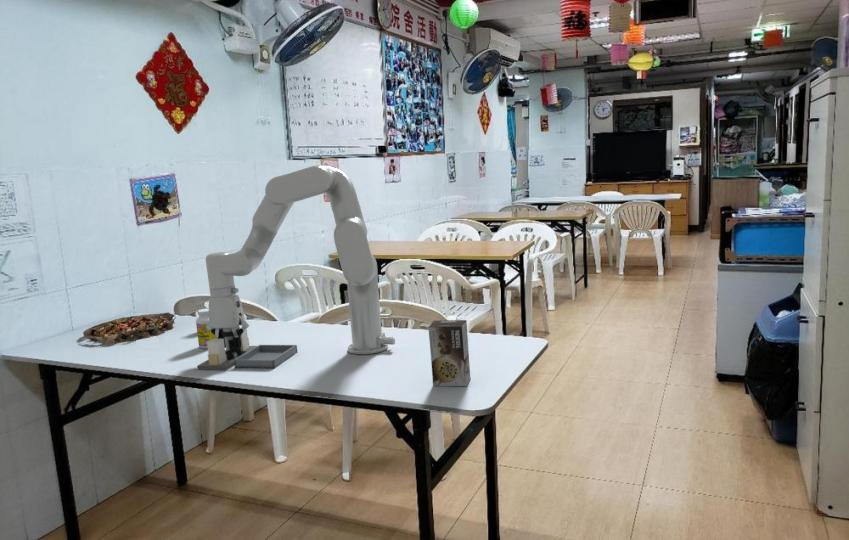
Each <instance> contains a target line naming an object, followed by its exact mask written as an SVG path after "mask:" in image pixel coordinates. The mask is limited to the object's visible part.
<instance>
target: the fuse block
mask: <svg viewBox="0 0 849 540" xmlns="http://www.w3.org/2000/svg"><path fill="white" fill-rule="evenodd" d="M239 327H240V328H241V327H242V326H239ZM248 336H249V335H248V328H247V329H246V330H245V331H244V332H243V333H242V335H241V343H242V345H241V348H240V349H241V355H240V356H242V355H243V354H245V353H247V352H248V351H250V350H252V349H253V348H255V347H257V346H258V345H250V341H249V337H248ZM207 346H208V349H207V352H208V354H207V360H205V361H203V362H202V363H200V364H198V365H196V367H197V371H203V370H204V371H228V370H230V369H232V368H234V367H235V363H234V360H235V359H237V358H238V357H237V358H234V359H231V360H227V358H226V354H225V351H226V348H225V347H224V339H212V340H210V341H208V342H207ZM240 356H239V357H240Z"/></svg>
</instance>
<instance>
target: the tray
mask: <svg viewBox="0 0 849 540" xmlns="http://www.w3.org/2000/svg"><path fill="white" fill-rule="evenodd" d="M256 346H257V347H255V348H253V349H252V350H250V351H248V352H247V353H245V354H243V355H242V356H240V357H238V358H237V359H235V358H234V359H235V360H234V363H235V366H234V368H235V369H270V370H271V369H276V368H278V367H279V366H280V365H282V364H283V363H284V362H286V361H287V360H289V359H290V358H292V357H293V356H295V355H296V354H297V353H298V346H297V344H258V345H256Z"/></svg>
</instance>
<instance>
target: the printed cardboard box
mask: <svg viewBox="0 0 849 540" xmlns="http://www.w3.org/2000/svg"><path fill="white" fill-rule="evenodd" d="M427 329H428V330H427V331H428V339H429V350H430V351H429V352H430V360H431V361H430V362H431V376H432V386H433V387H467V386H468V385H469V382H470V381H471V367H470V356H469V355H470V353H469V351H470V350H469V338H468V325H467V319H452V320H451V319H449V320H446V319H445V320H443V319H442V320H439V319H438V320H433V321H432V322H431V324H430V325H429V326H428V327H427Z"/></svg>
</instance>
